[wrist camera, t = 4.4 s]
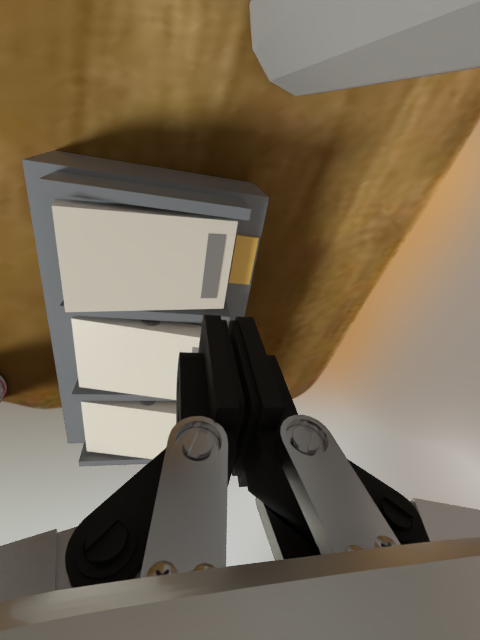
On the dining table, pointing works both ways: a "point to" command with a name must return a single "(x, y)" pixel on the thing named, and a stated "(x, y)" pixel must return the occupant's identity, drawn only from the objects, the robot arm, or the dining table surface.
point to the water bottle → (362, 41)
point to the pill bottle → (2, 388)
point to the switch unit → (139, 190)
